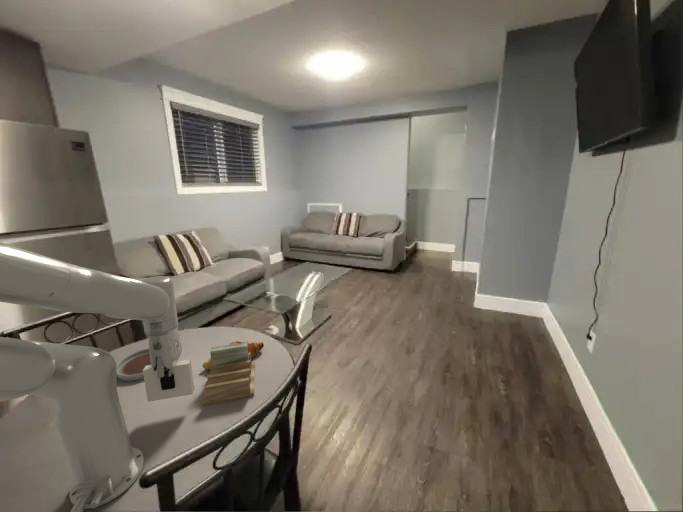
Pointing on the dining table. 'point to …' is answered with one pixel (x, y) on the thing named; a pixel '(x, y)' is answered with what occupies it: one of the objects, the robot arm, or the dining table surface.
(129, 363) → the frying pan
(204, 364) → the croissant
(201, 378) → the dining table surface
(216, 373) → the rack
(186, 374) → the white rectangular slab
